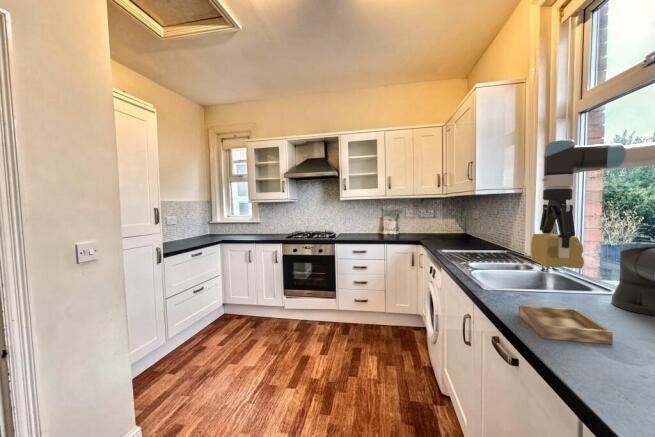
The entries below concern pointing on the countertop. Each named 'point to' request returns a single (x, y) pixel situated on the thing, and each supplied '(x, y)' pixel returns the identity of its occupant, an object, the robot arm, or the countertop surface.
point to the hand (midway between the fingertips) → (554, 254)
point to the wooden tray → (565, 324)
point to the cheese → (555, 251)
